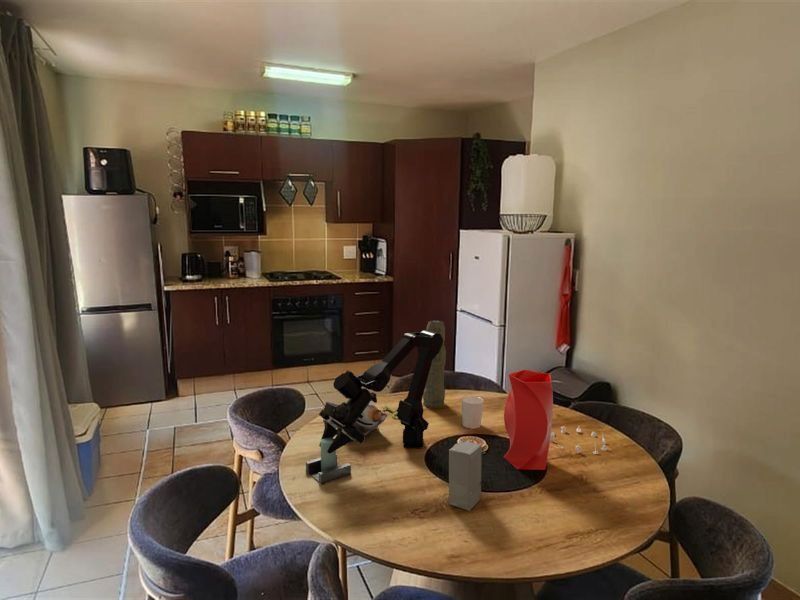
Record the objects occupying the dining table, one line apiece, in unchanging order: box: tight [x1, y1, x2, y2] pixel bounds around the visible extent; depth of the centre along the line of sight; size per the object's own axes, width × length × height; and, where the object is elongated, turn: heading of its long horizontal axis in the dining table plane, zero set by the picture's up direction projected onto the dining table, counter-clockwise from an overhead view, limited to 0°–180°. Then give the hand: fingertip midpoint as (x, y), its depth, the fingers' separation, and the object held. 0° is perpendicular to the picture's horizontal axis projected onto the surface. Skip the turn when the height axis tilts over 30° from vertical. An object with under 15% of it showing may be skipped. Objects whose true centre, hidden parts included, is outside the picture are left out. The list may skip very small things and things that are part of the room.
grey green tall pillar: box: [422, 319, 447, 409], centre depth 209 cm, size 9×12×35 cm
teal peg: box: [320, 437, 337, 471], centre depth 154 cm, size 4×4×9 cm
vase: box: [503, 369, 554, 471], centre depth 161 cm, size 15×14×28 cm
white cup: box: [461, 395, 484, 430], centre depth 190 cm, size 8×8×10 cm
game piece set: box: [550, 425, 609, 455], centre depth 178 cm, size 19×20×4 cm
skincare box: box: [448, 439, 483, 512], centre depth 139 cm, size 8×7×16 cm
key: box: [381, 404, 399, 420], centre depth 200 cm, size 7×12×2 cm, turn 57°
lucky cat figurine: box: [336, 401, 388, 436], centre depth 182 cm, size 17×14×16 cm
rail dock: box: [305, 453, 352, 485], centre depth 154 cm, size 10×10×3 cm
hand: (324, 449), depth 152 cm, fingers closed on teal peg, 4 cm apart
